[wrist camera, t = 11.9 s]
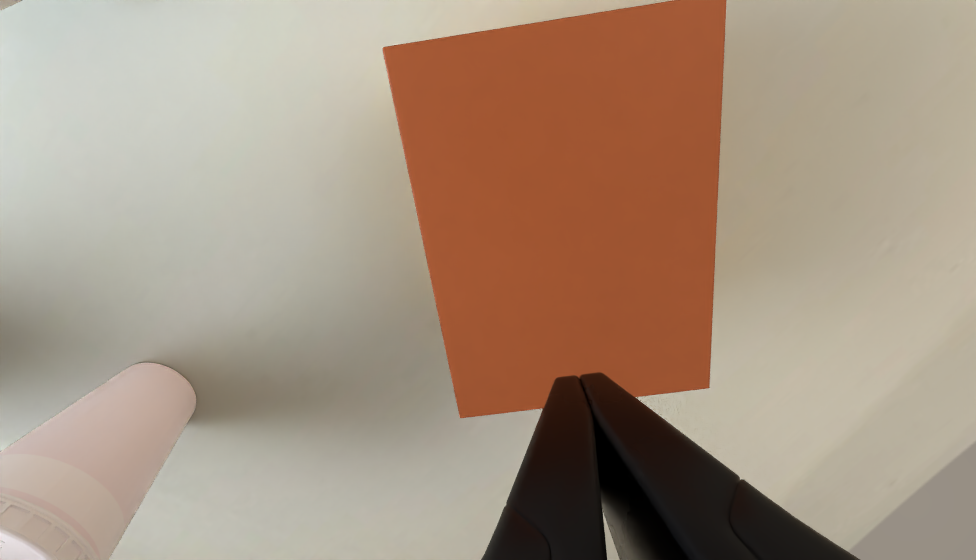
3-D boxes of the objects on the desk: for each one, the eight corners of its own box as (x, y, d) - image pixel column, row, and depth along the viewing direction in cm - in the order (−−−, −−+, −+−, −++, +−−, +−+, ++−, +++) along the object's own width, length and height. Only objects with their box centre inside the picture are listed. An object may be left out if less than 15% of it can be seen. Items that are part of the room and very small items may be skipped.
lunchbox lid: (386, 47, 13) (381, 47, 12) (715, -6, 13) (727, -9, 12) (460, 405, 18) (460, 419, 17) (701, 376, 17) (709, 388, 17)
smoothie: (159, 315, 23) (-256, 653, 10) (252, 415, 25) (13, 792, 12) (57, 373, 24) (-427, 740, 11) (155, 463, 26) (-154, 851, 14)
